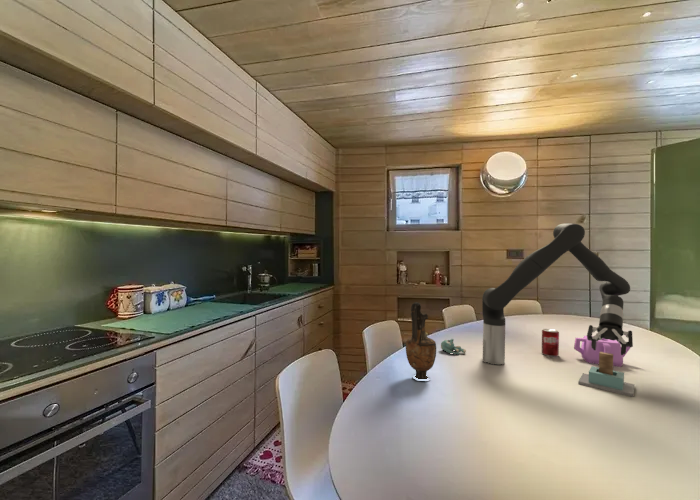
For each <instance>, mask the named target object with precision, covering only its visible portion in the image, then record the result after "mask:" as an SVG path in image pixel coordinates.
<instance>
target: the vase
mask: <svg viewBox="0 0 700 500" xmlns="http://www.w3.org/2000/svg"><path fill="white" fill-rule="evenodd" d="M421 308H422V305H421V302H417V301H416V302H413V303H412V304H411V307H410V312H411V313H410V317H411V337H409V338H408V339H407V340H406V342H405V354H406V358H407V363H408V364H409V366H410V367H411V368H412V369H413V370H414V371H415V374H416V376H415V377H416V378H418V379H427V378H428V377H427V376H428V375H427V373H428V371H429V370H431V369H432V368H433V366H434V364H435V362H436V356H437V343H436V341H435V340H434V339H433V338H430V337H429V336H427V333H426V320H428V319H429V315H428V314H427V313H422V312H421ZM426 375H427V376H426Z"/></svg>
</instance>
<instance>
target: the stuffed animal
mask: <svg viewBox="0 0 700 500" xmlns="http://www.w3.org/2000/svg"><path fill="white" fill-rule="evenodd" d="M440 348H441V350H442V351H443V350H444V352H445V351H446V353H448V354H449V353H453V354H457V355H460V353H463V354H466V352H467V349H465V348H462V347H461V346H460V345H455V343H454V338H451V339H444V340H443V341H441V342H440ZM452 350H455V351H457V352H454V351H452Z"/></svg>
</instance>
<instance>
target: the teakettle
mask: <svg viewBox="0 0 700 500" xmlns="http://www.w3.org/2000/svg"><path fill="white" fill-rule="evenodd" d="M593 336H594V335H592V337H593ZM591 344H592V341H591V340H588V339H587V335H583V337H575V340H574V346H573V349H574V350H575V351H577V352H578V353H580V354H581V357H582V358H583V360H584V361H586V363H589V364H595V365H599V353H600V352H604V353H610V354H613V367H620V368H621V367H623V364H624V357H625V356H626V355H627V353H628V352H629V351H630V350H631V348H632V347H626V354H623V355H621V344H620V343H618V342H617V340H610V339H604V338H603V339H601V340H599V341H597V344H596V350H593V348H592V347H591Z"/></svg>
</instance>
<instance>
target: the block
mask: <svg viewBox="0 0 700 500" xmlns="http://www.w3.org/2000/svg"><path fill="white" fill-rule="evenodd" d="M598 368H599V372H600V373H604V374H609V375H613V371H614V366H613V354H610V353H604V352H600V353H599V364H598Z"/></svg>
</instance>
